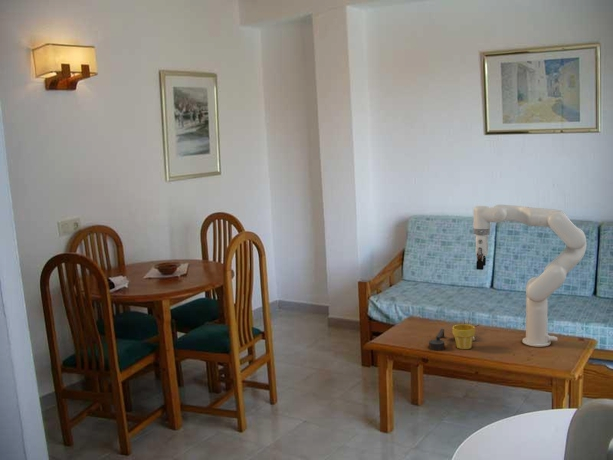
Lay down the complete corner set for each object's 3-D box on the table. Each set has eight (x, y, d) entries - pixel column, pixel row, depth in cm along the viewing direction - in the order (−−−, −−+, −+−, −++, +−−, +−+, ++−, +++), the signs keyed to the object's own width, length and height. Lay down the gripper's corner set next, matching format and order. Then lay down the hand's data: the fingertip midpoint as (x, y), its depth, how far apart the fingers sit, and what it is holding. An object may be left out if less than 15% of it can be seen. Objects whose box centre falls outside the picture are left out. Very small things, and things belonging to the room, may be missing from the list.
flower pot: (448, 347, 312) (447, 327, 311) (460, 342, 319) (460, 322, 318) (467, 352, 305) (466, 331, 303) (479, 346, 312) (479, 326, 310)
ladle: (443, 350, 308) (443, 342, 307) (428, 349, 310) (427, 341, 310) (449, 337, 328) (449, 329, 327) (435, 336, 330) (435, 328, 329)
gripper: (487, 235, 305) (487, 271, 308) (491, 229, 321) (490, 264, 324) (471, 234, 308) (470, 270, 310) (475, 229, 324) (475, 263, 326)
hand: (481, 267), depth 317 cm, fingers open, 9 cm apart
